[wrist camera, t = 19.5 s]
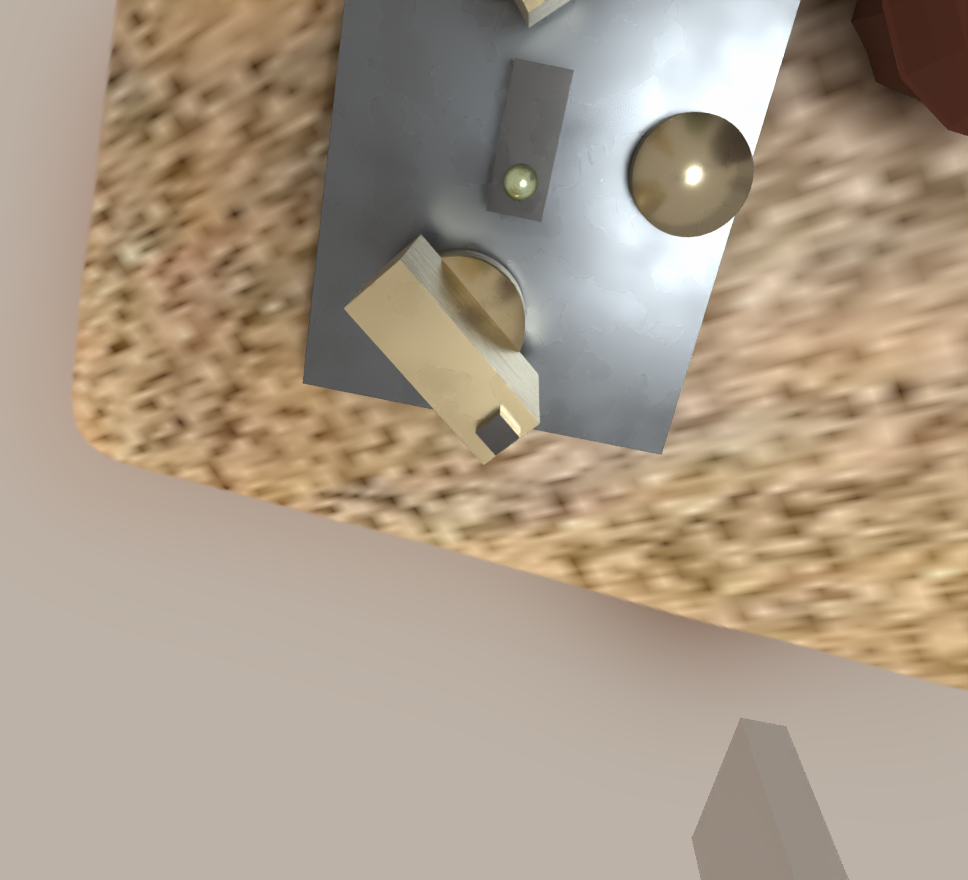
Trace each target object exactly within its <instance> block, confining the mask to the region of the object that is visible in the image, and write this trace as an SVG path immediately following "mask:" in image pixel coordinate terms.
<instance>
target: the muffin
mask: <svg viewBox="0 0 968 880" xmlns="http://www.w3.org/2000/svg"><path fill="white" fill-rule="evenodd" d="M851 22H852V23H853V25H854V27H855V29H856V31H857V33H858V35H859V37H860V38H861V40H862V42H863V44H864V46H865V48H866V50H867V53H868V56H869V59H870V63H871V66H872V70H873V73H874V76H875V80H876V82H878V83H880V84H883V85H885V86H887V87H890V88H892V89H895V90H897V91H899V92H902V93H904V94H907V95H909V96H912V97H914V98H916V99H918V100H920V101H921V102H923V103H924V104H925V105H926V106H927V108H928V109H929V110H930V111H931V112H932V113H933V114H934V115H935V116H936V117H937V118H938V119H939V121H940V122H941V123H942V124H943V125H944V126H945V127H946V128H947V129H948V130H951V131H954V132H957V133H960V134H964V135H967V136H968V0H858V1H857V4H856V7H855V11H854V14H853V17H852V20H851Z"/></svg>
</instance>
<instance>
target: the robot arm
mask: <svg viewBox="0 0 968 880" xmlns="http://www.w3.org/2000/svg"><path fill="white" fill-rule="evenodd" d="M692 841H693V846H694V850H695V854H696V859H697V864H698V868H699V873H700V877H701V880H849V879H848V877H847V874H846V872H845V869H844V867H843V864H842V862H841V860H840V857H839V854H838V852H837V850H836V847H835V845H834V842H833V840H832V838H831V835H830V832H829V830H828V828H827V825H826V823H825V820H824V818H823V816H822V813H821V810H820V808H819V806H818V803H817V801H816V798H815V796H814V793H813V791H812V788H811V786H810V784H809V781H808V779H807V776H806V774H805V771H804V769H803V766H802V764H801V761H800V759H799V757H798V754H797V752H796V749H795V747H794V744H793V742H792V739H791V737H790V735H789V732H788V730H787V727H786V726H781V725H775V724H770V723H765V722H760V721H754V720H749V719H743V718H740V721H739V723H738V726H737V728H736V731H735V733H734V735H733V738H732V740H731V743H730V745H729V748H728V750H727V753H726V755H725V758H724V760H723V763H722V765H721V767H720V770H719V772H718V775H717V777H716V780H715V782H714V785H713V787H712V790H711V792H710V795H709V797H708V799H707V802H706V805H705V807H704V809H703V812H702V814H701V817H700V819H699V822H698V824H697V827H696V829H695V832H694V834H693V836H692Z"/></svg>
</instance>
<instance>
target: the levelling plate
mask: <svg viewBox="0 0 968 880" xmlns="http://www.w3.org/2000/svg"><path fill="white" fill-rule="evenodd" d="M799 3H800V0H570V1H568V2H567V3H565V4H564V5H562V6H561V7H559V8H558V9H556V10H555V11H553V12H552V13H550V14H549V15H548V16H546V17H545V18H543V19H542V20H540V21H539V22H537V23H536V24H534V25H533V26H531V27H530V28H529V27H528V25H527V24H526V22H525V20H524V18H523V16H522V14H521V12H520V10H519V8H518V6H517V4H516V2H515V0H345V3H344V12H343V21H342V30H341V39H340V48H339V57H338V67H337V76H336V85H335V94H334V103H333V112H332V121H331V130H330V139H329V148H328V158H327V167H326V176H325V185H324V194H323V203H322V212H321V221H320V230H319V239H318V249H317V258H316V267H315V276H314V285H313V294H312V303H311V312H310V321H309V330H308V340H307V349H306V358H305V367H304V376H303V383H304V384H309V385H314V386H319V387H324V388H329V389H334V390H339V391H344V392H349V393H354V394H359V395H364V396H369V397H374V398H379V399H384V400H389V401H394V402H399V403H404V404H409V405H414V406H419V407H424V408H429V409H433V408H432V407H431V406H430V404H429V403H428V402H427V401H426V400H425V399H424V398H423V397H422V395H421V394H420V393H419V392H418V391H417V390H416V389H415V388H414V387H413V385H412V384H411V383H410V382H409V381H408V380H407V379H406V378H405V376H404V375H403V374H402V373H401V372H400V371H399V370H398V369H397V368H396V366H395V365H394V364H393V363H392V362H391V361H390V360H389V359H388V357H387V356H386V355H385V354H384V353H383V352H382V351H381V350H380V349H379V347H378V346H377V345H376V344H375V343H374V342H373V341H372V340H371V338H370V337H369V336H368V335H367V334H366V333H365V332H364V331H363V330H362V328H361V327H360V326H359V325H358V324H357V323H356V322H355V321H354V319H353V318H352V317H351V316H350V315H349V314H348V313H347V312H346V311H345V309H344V308H345V306H346V305H347V304H348V303H349V302H350V301H351V300H352V299H353V297H354V296H355V295H356V294H357V293H358V292H359V291H360V290H361V289H362V287H363V286H364V285H365V284H366V283H367V282H368V281H369V280H370V278H371V277H372V276H373V275H374V274H375V273H377V272H378V271H379V270H380V269H381V268H382V267H384V266H385V265H386V264H387V263H388V262H389V261H390V260H392V259H393V258H394V257H395V256H396V255H397V254H399V253H400V252H401V251H402V250H403V249H404V248H405V247H407V246H408V245H409V244H410V243H411V242H412V241H414V240H415V239H416V238H417V237H418V236H419V235H420V234H422V236H423V237H424V238H425V239H426V240H427V242H428V243H429V244H430V245H431V246H432V247H433V249H434V250H435V251H436V252H437V253H440V252H444V251H448V250H457V249H459V250H471V251H476V252H479V253H482V254H485V255H487V256H489V257H491V258H493V259H494V260H496V261H497V262H499V263H500V264H501V265H503V266H504V267H505V268H506V269H507V270H508V271H509V272H510V273H511V275H512V276H513V278H514V279H515V280H516V282H517V284H518V286H519V288H520V290H521V293H522V295H523V299H524V304H525V335H524V340H523V344H522V347H521V350H520V353H521V354H522V355H523V357H524V358H525V359H526V360H527V361H528V363H529V364H530V365H531V366H532V367H533V368H534V370H535V371H536V372H537V373H538V377H539V410H540V424H538V425H537V426H536V427H534V428H533V429H535V430H540V431H545V432H550V433H555V434H560V435H565V436H570V437H575V438H580V439H585V440H590V441H595V442H601V443H606V444H611V445H616V446H621V447H626V448H631V449H636V450H641V451H646V452H651V453H656V454H662V451H663V448H664V444H665V441H666V438H667V435H668V431H669V428H670V425H671V422H672V418H673V415H674V412H675V408H676V405H677V402H678V399H679V395H680V392H681V389H682V386H683V382H684V379H685V376H686V373H687V369H688V366H689V363H690V359H691V356H692V353H693V350H694V346H695V343H696V340H697V337H698V333H699V330H700V327H701V323H702V320H703V317H704V314H705V310H706V307H707V304H708V301H709V297H710V294H711V291H712V288H713V284H714V281H715V278H716V274H717V271H718V268H719V265H720V261H721V258H722V255H723V252H724V248H725V245H726V242H727V239H728V235H729V232H730V229H731V225H732V222H733V219H734V216H735V215H736V214H737V213H738V211H739V210H740V209H741V207H742V206H743V204H744V202H745V201H746V199H747V197H748V194H749V191H750V189H751V185H752V181H753V158H752V157H753V154H754V150H755V147H756V144H757V140H758V137H759V134H760V131H761V127H762V124H763V121H764V118H765V114H766V111H767V108H768V105H769V101H770V98H771V95H772V91H773V88H774V85H775V82H776V78H777V75H778V72H779V69H780V65H781V62H782V59H783V56H784V52H785V49H786V46H787V42H788V39H789V36H790V33H791V29H792V26H793V23H794V20H795V16H796V13H797V10H798V6H799Z"/></svg>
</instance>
